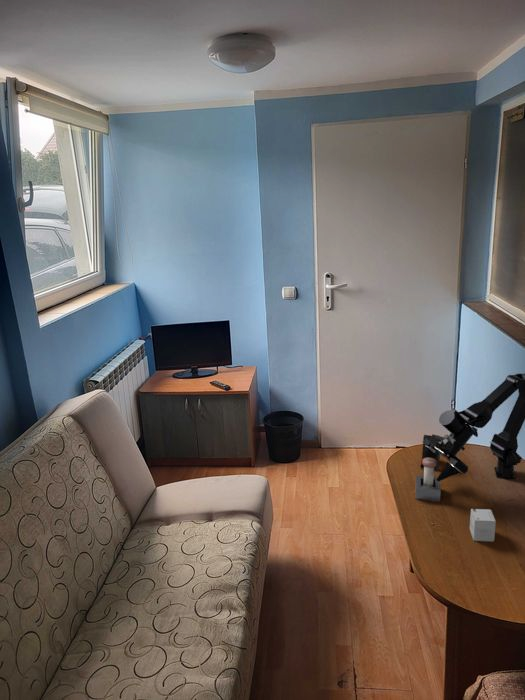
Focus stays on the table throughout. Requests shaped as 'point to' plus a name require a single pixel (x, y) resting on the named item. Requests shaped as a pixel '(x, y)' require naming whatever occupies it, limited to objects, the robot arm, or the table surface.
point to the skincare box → (482, 525)
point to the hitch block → (427, 489)
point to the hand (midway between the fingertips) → (429, 473)
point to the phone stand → (435, 453)
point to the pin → (428, 471)
